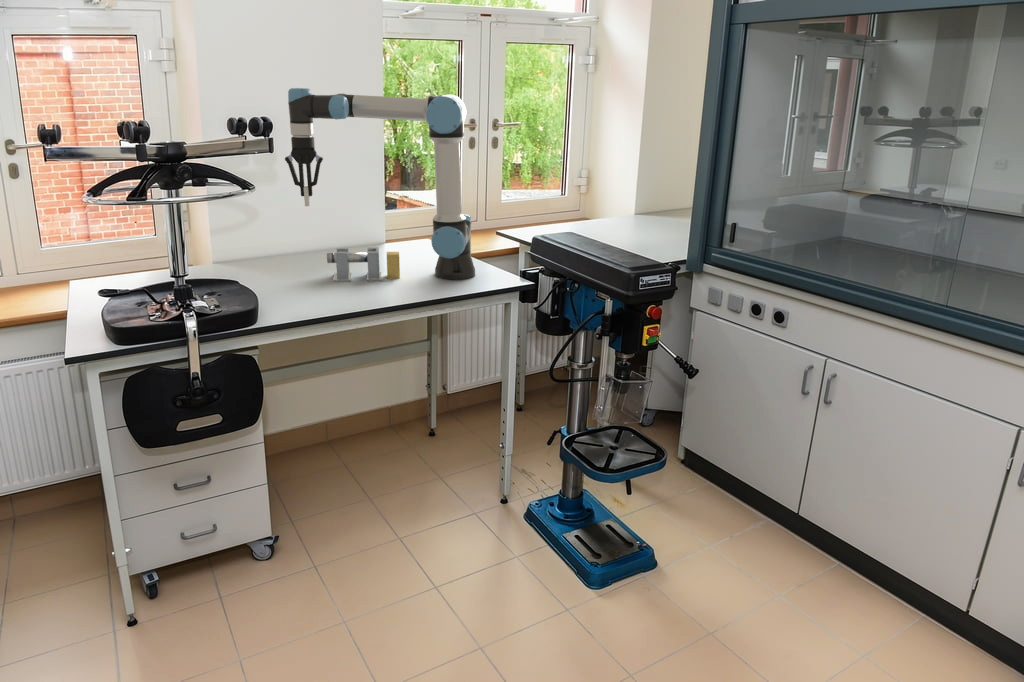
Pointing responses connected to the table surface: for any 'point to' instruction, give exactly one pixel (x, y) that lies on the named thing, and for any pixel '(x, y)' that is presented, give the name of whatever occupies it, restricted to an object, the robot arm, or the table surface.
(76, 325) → the table surface
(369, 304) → the table surface
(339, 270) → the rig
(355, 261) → the shaft
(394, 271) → the spacer
